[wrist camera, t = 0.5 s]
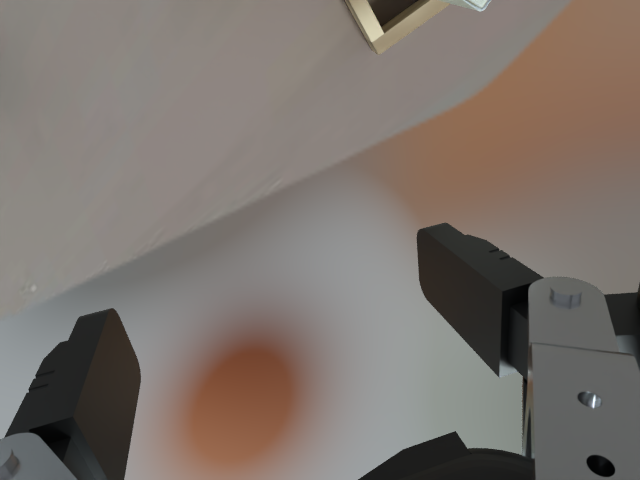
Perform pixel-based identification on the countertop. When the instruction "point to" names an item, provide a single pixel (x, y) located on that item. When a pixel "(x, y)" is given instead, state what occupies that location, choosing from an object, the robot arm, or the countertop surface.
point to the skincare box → (470, 3)
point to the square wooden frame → (392, 22)
